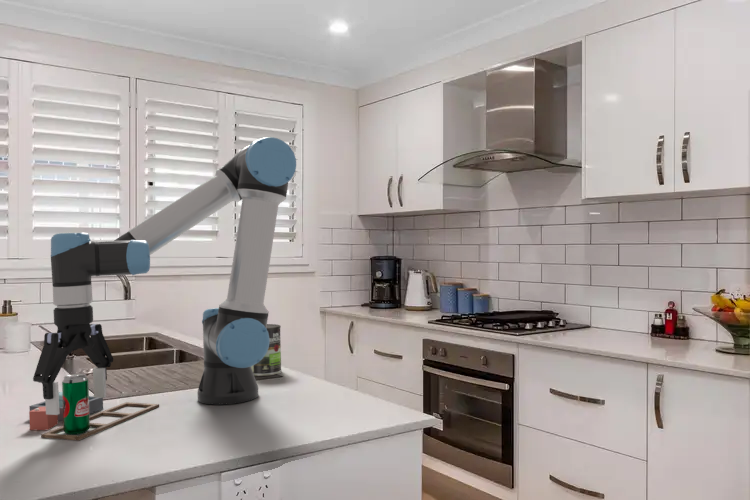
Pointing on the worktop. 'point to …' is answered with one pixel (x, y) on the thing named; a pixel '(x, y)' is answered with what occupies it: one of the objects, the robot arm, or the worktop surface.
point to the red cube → (42, 419)
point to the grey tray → (94, 406)
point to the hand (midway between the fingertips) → (77, 405)
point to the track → (102, 426)
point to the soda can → (75, 404)
